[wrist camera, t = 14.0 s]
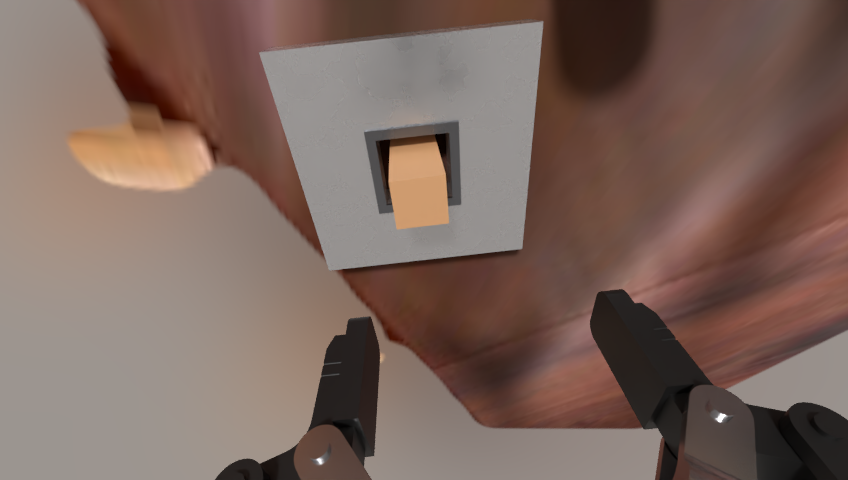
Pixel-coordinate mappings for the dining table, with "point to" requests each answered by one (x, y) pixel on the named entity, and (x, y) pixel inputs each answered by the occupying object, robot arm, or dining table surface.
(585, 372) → the dining table surface
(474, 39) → the slab with square hole
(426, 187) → the tan wooden block
